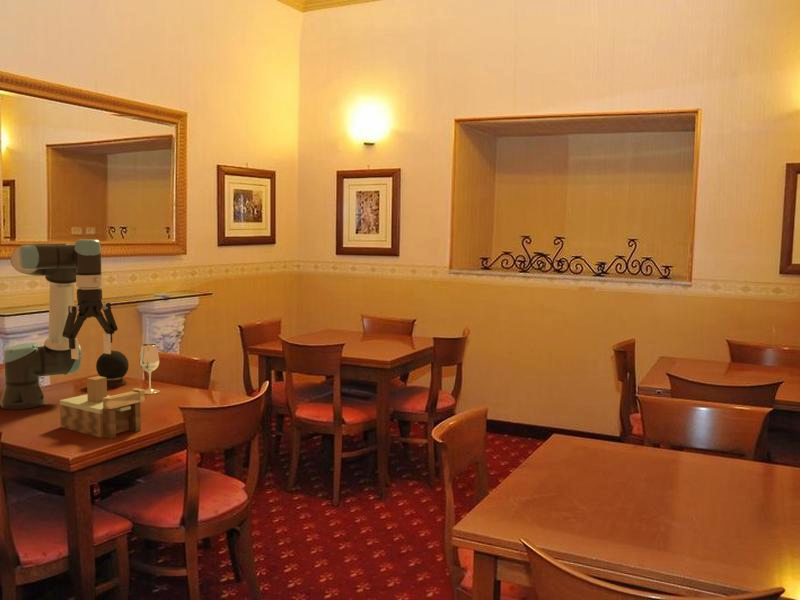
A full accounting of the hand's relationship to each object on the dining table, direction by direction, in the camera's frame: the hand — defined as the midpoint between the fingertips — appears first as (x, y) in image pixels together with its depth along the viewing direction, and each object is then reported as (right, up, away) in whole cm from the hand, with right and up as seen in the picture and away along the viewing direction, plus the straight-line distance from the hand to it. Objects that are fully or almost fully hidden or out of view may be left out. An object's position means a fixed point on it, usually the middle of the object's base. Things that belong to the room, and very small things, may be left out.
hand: (91, 356), depth 242 cm
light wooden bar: (+6, -17, +12) cm, 22 cm away
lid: (-4, -19, +17) cm, 26 cm away
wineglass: (-5, -21, +72) cm, 75 cm away
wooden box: (-4, -26, +18) cm, 32 cm away
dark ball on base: (-25, -19, +85) cm, 90 cm away
